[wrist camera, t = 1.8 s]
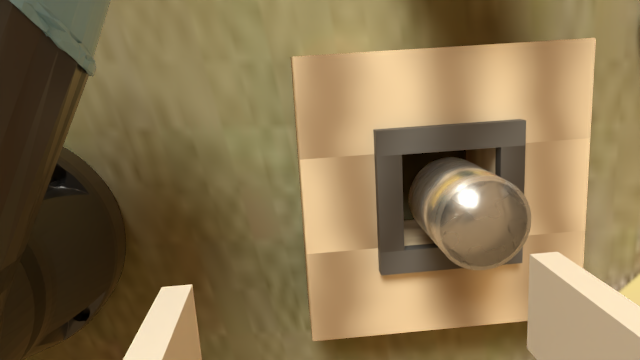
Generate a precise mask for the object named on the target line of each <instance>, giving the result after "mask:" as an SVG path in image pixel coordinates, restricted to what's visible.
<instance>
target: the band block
mask: <svg viewBox="0 0 640 360" xmlns="http://www.w3.org/2000/svg"><path fill="white" fill-rule="evenodd" d="M595 43H596V38H585V39H569V40H553V41H536V42H520V43H504V44H488V45H472V46H456V47H440V48H424V49H408V50H392V51H375V52H359V53H343V54H327V55H311V56H295V57H291V68H292V82H293V96H294V110H295V124H296V138H297V151H298V165H299V179H300V193H301V207H302V221H303V235H304V249H305V262H306V276H307V290H308V304H309V313H310V322H311V330H312V339H313V341H321V340H332V339H342V338H353V337H363V336H374V335H384V334H395V333H405V332H416V331H426V330H437V329H447V328H458V327H468V326H479V325H489V324H500V323H510V322H521V321H528V293H529V258H530V254H537V253H548V252H559V253H560V254H562V255H563V256H565V257H566V258H568V259H569V260H571V261H572V262H574V263H575V264H577V265H578V266H580V267H581V268H583V262H584V243H585V225H586V207H587V189H588V170H589V152H590V134H591V116H592V97H593V79H594V61H595ZM457 150H466V160H467V161H469V162H471V163H473V164H475V165H477V166H479V167H481V168H483V169H485V170H487V171H489V172H491V173H493V174H495V175H497V176H499V177H501V178H503V179H505V180H507V181H509V182H510V183H512V184H514V185H515V186H516V187H517V188H519V190H520V191H521V192H522V193H523V194H524V196H525V197H526V199H527V201H528V204H529V207H530V211H531V228H530V232H529V235H528V238H527V240H526V242H525V244H524V245H523V247H522V248H521V250H520V251H519V252H518V253H517V254H516V255H515V256H514V257H513V258H512V259H510V260H509V261H508V262H506V263H504V264H503V265H501V266H498V267H496V268H492V269H488V270H470V269H466V268H463V267H461V266H459V265H457V264H455V263H454V262H452V261H451V260H450V259H449V258H448V257H447V256H446V255H445V254H444V253H443V252H442V251H441V249H440V248H439V247H438V246H437V245H436V244H435V243H434V241H433V240H432V239H431V238H430V237H429V236H428V235H427V233H426V232H425V231H424V230H423V229H422V228H421V227H420V225H419V224H418V223H417V222H416V221H415V219H414V220H404V214H403V176H402V155H403V154H416V153H430V152H443V151H457Z"/></svg>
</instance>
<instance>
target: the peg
mask: <svg viewBox="0 0 640 360" xmlns="http://www.w3.org/2000/svg"><path fill="white" fill-rule="evenodd" d="M409 207H410V211H411V213H412V216H413V217H414V219H415V221H416V222H417V223H418V224H419V225H420V227H421V228H422V229H423V230H424V231H425V232H426V233H427V235H428V236H429V237H430V238H431V239H432V240H433V241H434V243H435V244H436V245H437V246H438V247H439V248H440V249H441V251H442V252H443V253H444V254H445V255H446V256H447V257H448V258H449V259H450V260H451V261H452V262H454V263H455V264H457V265H459V266H461V267H463V268H466V269H470V270H488V269H492V268H496V267H498V266H501V265H503V264H504V263H506V262H508V261H509V260H510V259H512V258H513V257H514V256H515V255H516V254H517V253H518V252H519V251H520V250H521V248H522V247H523V245H524V244H525V242H526V240H527V238H528V235H529V232H530V228H531V211H530V207H529V204H528V201H527V199H526V197H525V196H524V194H523V193H522V192H521V191H520V190H519V188H517V187H516V186H515V185H514V184H512V183H510V182H509V181H507V180H505V179H503V178H501V177H499V176H497V175H495V174H493V173H491V172H489V171H487V170H485V169H483V168H481V167H479V166H477V165H475V164H473V163H471V162H469V161H467V160H465V159H461V158H457V157H445V158H441V159H437V160H435V161H432V162H431V163H429V164H427V165H426V166H425V167H423V168H422V169H421V170H420V171H419V173H418V174H417V175H416V177H415V178H414V180H413V182H412V184H411V187H410V191H409Z"/></svg>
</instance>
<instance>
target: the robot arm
mask: <svg viewBox="0 0 640 360" xmlns="http://www.w3.org/2000/svg"><path fill="white" fill-rule="evenodd" d="M109 4H110V0H0V360H23V359H25V358H27V357H29V356H32V355H34V354H36V353H38V352H40V351H43V350H45V349H47V348H49V347H51V346H54V345H56V344H58V343H60V342H62V341H64V340H66V339H67V338H69V337H71V336H72V335H74V334H75V333H76V332H78V331H79V330H80V329H82V328H83V327H84V326H85V325H86V324H87V323H88V322H89V321H90V320H91V319H92V318H93V317H94V316H95V315H96V314H97V313H98V311H99V310H100V309H101V307H102V306H103V305H104V303H105V302H106V301H107V299H108V298H109V297H110V295H111V294H112V292H113V290H114V289H115V287H116V285H117V283H118V280H119V278H120V275H121V272H122V269H123V265H124V260H125V251H126V238H125V230H124V224H123V220H122V217H121V213H120V211H119V208H118V206H117V203H116V201H115V199H114V197H113V195H112V194H111V192H110V190H109V189H108V187H107V186H106V184H105V183H104V182H103V180H102V179H101V178H100V177H99V175H98V174H97V173H96V172H95V171H94V170H93V169H92V168H91V167H90V166H89V165H88V164H87V163H86V162H84V161H83V160H82V159H81V158H79V157H78V156H77V155H75V154H74V153H72V152H71V151H69V150H68V149H66V148H64V147H63V144H64V142H65V139H66V136H67V133H68V131H69V128H70V125H71V123H72V120H73V117H74V114H75V112H76V109H77V106H78V103H79V101H80V98H81V95H82V93H83V90H84V87H85V84H86V82H87V79H88V76H94V73H95V70H96V64H95V60H94V58H93V57H94V54H95V50H96V47H97V44H98V40H99V37H100V34H101V30H102V27H103V24H104V20H105V17H106V14H107V10H108V7H109ZM527 349H528V350H529V351H530V353H531V354H532V355H533V356H534V357H535V358H536V359H537V360H640V306H638V305H637V304H635V303H634V302H632V301H631V300H629V299H628V298H626V297H625V296H623V295H622V294H620V293H619V292H617V291H616V290H614V289H613V288H611V287H610V286H608V285H607V284H605V283H604V282H602V281H601V280H599V279H598V278H596V277H595V276H593V275H592V274H590V273H589V272H587V271H586V270H584V269H583V268H581V267H580V266H578V265H577V264H575V263H574V262H572V261H571V260H569V259H568V258H566V257H565V256H563V255H562V254H560V253H559V252H548V253H537V254H530V258H529V293H528V328H527ZM123 360H202V356H201V348H200V340H199V332H198V324H197V317H196V309H195V301H194V293H193V285H192V284H190V285H179V286H168V287H162V288H161V289H160V291H159V293H158V295H157V297H156V299H155V301H154V302H153V304H152V306H151V308H150V310H149V312H148V314H147V316H146V317H145V319H144V321H143V323H142V325H141V327H140V329H139V330H138V332H137V334H136V336H135V338H134V340H133V342H132V344H131V345H130V347H129V349H128V351H127V353H126V355H125V357H124V358H123Z"/></svg>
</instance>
